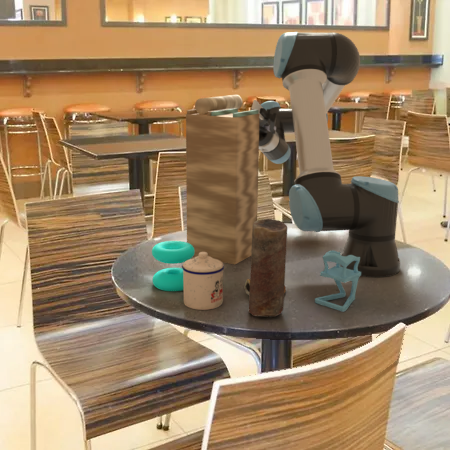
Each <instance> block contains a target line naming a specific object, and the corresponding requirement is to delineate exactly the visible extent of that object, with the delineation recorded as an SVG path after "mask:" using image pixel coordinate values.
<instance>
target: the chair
mask: <svg viewBox="0 0 450 450" xmlns="http://www.w3.org/2000/svg"><path fill="white" fill-rule="evenodd" d="M322 261H323V265H324V269H323V270H322V271H320V272H319V273H320V274H319V276H320V277H324V278H329V279H332V280H334V282H335V284H336V286H337V288H338V290H339V292H337V293H332V294H329V295H324V296H318V297H316V298H314V303H315V304H317V305H321V306H323V307H327V308H331V309H334V310H337V311H340V312H346V311H347V310H348V309H349V307H350V306H351V304H352V303H353V302H354V301H355V300H356V291H357V287H358V283H359V279H360V277H362V276H361V272H359V271H358V264H359V261H360V257H356V256H353V255H348V256H342V253H341V252H340V251H336V250H332V249H331V250H328V251H326V252H325V253H324V255H322ZM353 261H356V263H355V265H354V270H350V269H347V268H346V267H347V266H348V265H349V264H350V263H351V262H353ZM328 262H330V263H336V264H335V266H332V267H330V268H329V264H328ZM340 265H342V266H343V267H341V266H340ZM348 282H351V287H350V289H351V290H350V293H349V296H348V298H347V299H346V301H345V303H344V304H343V305H339V304H336V303H333V302H330V301H332V300H337V299H341V298H346V296H347V294H346V292H347V291H346V290H345V289H344V287H343V284H342V283H344V284H345V283H346V284H347V283H348Z"/></svg>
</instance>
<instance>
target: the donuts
mask: <svg viewBox="0 0 450 450" xmlns="http://www.w3.org/2000/svg"><path fill="white" fill-rule="evenodd" d="M194 253H195V250H194V247H193V246H192V245H191V244H189V243H187V241H181V240H166V241H161V242H158V243H156V244H155V245H154V246H153V247H152V249H151V254H152V257H153V258H154V259H155V260H156V261H158V262H160V263H163V264H169V265H172V264H173V265H175V264H176V265H177V264H184V262H185V261H187V260H189V259H193V258H194V257H193V256H194ZM152 284H153V286H154V287H155V288H157V289H159V290H161V291H165V292H182V291H184V282H183V269H182V267H167V268H166V267H165V268H163V269H159V270H158V271H157V272H155V273H154V274H153V276H152Z"/></svg>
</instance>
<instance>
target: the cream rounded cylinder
mask: <svg viewBox="0 0 450 450" xmlns="http://www.w3.org/2000/svg"><path fill="white" fill-rule="evenodd" d="M243 102H244V101H243V98H242V97H241V96H240V95H239V94H230V95H221V96H211V97H204V98H203V97H202V98H201V97H200V98H198V99H196V101H195V103H194V108H195V109H196V111H197V112H198V113H199V114H207V112H208V111H215V110H222V109H229V108H234V109H235V108H236V109H238V110H239V109H240V108H242V106H243Z"/></svg>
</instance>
